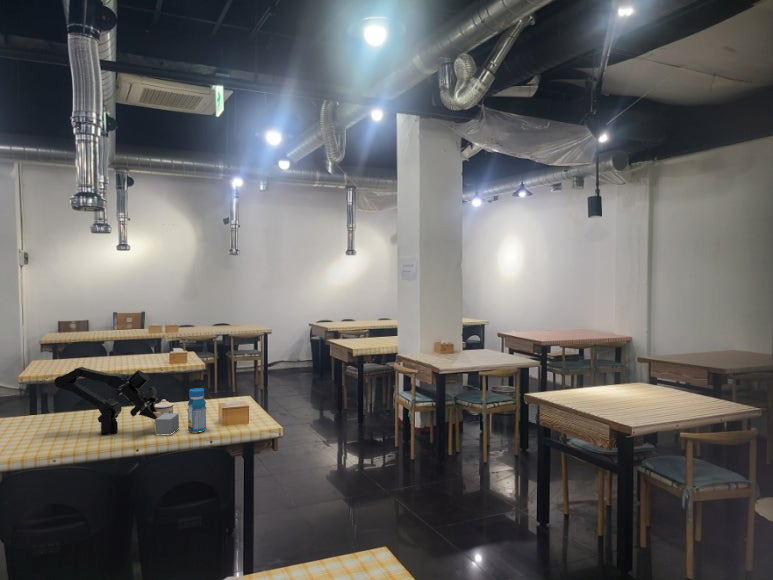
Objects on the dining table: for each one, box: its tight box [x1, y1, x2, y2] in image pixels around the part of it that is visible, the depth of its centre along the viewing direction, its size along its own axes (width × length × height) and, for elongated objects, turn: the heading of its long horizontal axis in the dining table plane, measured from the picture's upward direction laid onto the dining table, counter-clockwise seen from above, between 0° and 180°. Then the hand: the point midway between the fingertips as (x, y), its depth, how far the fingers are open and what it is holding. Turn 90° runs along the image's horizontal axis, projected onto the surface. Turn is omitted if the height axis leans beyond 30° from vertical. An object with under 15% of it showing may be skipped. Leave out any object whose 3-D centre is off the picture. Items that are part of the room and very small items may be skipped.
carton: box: [155, 415, 180, 435], centre depth 246 cm, size 7×10×7 cm
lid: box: [153, 412, 179, 420], centre depth 246 cm, size 11×10×2 cm
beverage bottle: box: [187, 387, 207, 433], centre depth 248 cm, size 8×8×20 cm
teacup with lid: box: [154, 399, 174, 425], centre depth 264 cm, size 12×9×12 cm
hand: (157, 418), depth 246 cm, fingers closed on lid, 2 cm apart
